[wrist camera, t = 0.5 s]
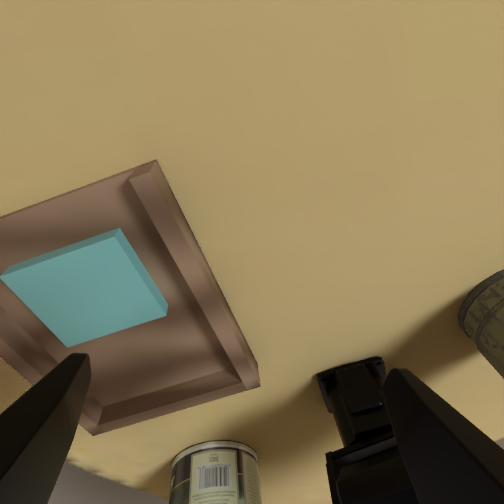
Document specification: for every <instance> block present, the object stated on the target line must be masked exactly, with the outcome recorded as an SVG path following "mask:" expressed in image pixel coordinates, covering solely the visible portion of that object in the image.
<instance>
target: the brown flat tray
mask: <svg viewBox="0 0 504 504" xmlns="http://www.w3.org/2000/svg"><path fill="white" fill-rule="evenodd" d="M117 228H120V229H121V231H122V232H123V234H124V236H125V237H126V239H127V240H128V242H129V243H130V245H131V247H132V248H133V250H134V251H135V253H136V254H137V256H138V258H139V259H140V261H141V262H142V264H143V265H144V267H145V269H146V270H147V272H148V273H149V275H150V277H151V278H152V280H153V281H154V283H155V284H156V286H157V288H158V289H159V291H160V292H161V294H162V295H163V297H164V299H165V300H166V302H167V303H168V309H167V315H166V316H164V317H161V318H157V319H154V320H151V321H148V322H145V323H142V324H139V325H136V326H133V327H130V328H127V329H123V330H120V331H117V332H114V333H111V334H108V335H105V336H102V337H99V338H96V339H92V340H89V341H86V342H83V343H80V344H77V345H74V346H71V347H68V348H67V347H66V346H65V345H64V344H63V343H62V342H61V341H60V340H59V339H58V338H57V337H56V336H55V335H54V333H53V332H52V331H51V330H50V329H49V328H48V327H47V326H46V325H45V324H44V323H43V322H42V321H41V320H40V319H39V318H38V317H37V316H36V315H35V314H34V313H33V312H32V311H31V310H30V309H29V308H28V307H27V306H26V305H25V304H24V302H23V301H22V300H21V299H20V298H19V297H18V296H17V295H16V294H15V293H14V292H13V291H12V290H11V289H10V288H9V287H8V286H7V285H6V284H5V283H4V282H3V281H2V280H1V279H0V357H1V358H3V359H4V360H5V361H6V362H7V363H8V364H10V365H11V366H12V367H13V368H14V369H15V370H17V371H18V372H19V373H20V374H21V375H22V376H24V377H25V378H26V379H27V380H28V381H29V382H31V383H32V384H33V385H35V384H36V383H37V382H38V381H39V380H41V379H42V378H43V377H44V376H45V375H46V374H48V373H49V372H50V371H51V370H52V369H53V368H54V367H56V366H57V365H58V364H59V363H60V362H61V361H63V360H64V359H65V358H66V357H67V356H68V355H70V354H71V353H74V352H78V353H88V354H89V357H90V365H91V381H90V385H89V388H88V391H87V395H86V398H85V402H84V405H83V409H82V412H81V415H80V419H79V422H78V424H80V425H81V426H82V427H83V428H84V429H85V430H87V431H88V432H89V433H90V434H91V435H92V436H94V435H98V434H101V433H104V432H108V431H111V430H115V429H118V428H121V427H125V426H128V425H132V424H135V423H138V422H142V421H145V420H148V419H152V418H155V417H159V416H162V415H165V414H169V413H172V412H176V411H179V410H182V409H186V408H189V407H193V406H196V405H199V404H203V403H206V402H209V401H213V400H216V399H220V398H223V397H226V396H230V395H233V394H237V393H240V392H243V391H247V390H250V389H254V388H257V387H260V378H259V371H258V364H257V362H256V360H255V358H254V356H253V354H252V352H251V350H250V348H249V346H248V344H247V342H246V339H245V337H244V335H243V333H242V331H241V329H240V327H239V325H238V323H237V321H236V319H235V317H234V315H233V313H232V311H231V309H230V307H229V305H228V303H227V301H226V299H225V297H224V295H223V293H222V291H221V289H220V287H219V285H218V283H217V281H216V279H215V277H214V275H213V273H212V271H211V269H210V267H209V265H208V263H207V261H206V259H205V257H204V255H203V253H202V251H201V249H200V247H199V245H198V243H197V240H196V238H195V236H194V234H193V232H192V230H191V228H190V226H189V224H188V222H187V220H186V218H185V216H184V214H183V212H182V210H181V208H180V206H179V204H178V202H177V200H176V198H175V196H174V194H173V192H172V190H171V188H170V186H169V184H168V182H167V180H166V178H165V176H164V174H163V172H162V170H161V168H160V166H159V164H158V162H157V160H154V161H151V162H148V163H146V164H143V165H140V166H137V167H135V168H132V169H129V170H127V171H124V172H121V173H118V174H116V175H113V176H110V177H108V178H105V179H102V180H99V181H97V182H94V183H91V184H89V185H86V186H83V187H80V188H78V189H75V190H72V191H70V192H67V193H64V194H61V195H59V196H56V197H53V198H51V199H48V200H45V201H42V202H40V203H37V204H34V205H32V206H29V207H26V208H23V209H21V210H18V211H15V212H13V213H10V214H7V215H4V216H2V217H0V275H1V274H2V273H3V272H4V271H5V270H6V269H7V268H8V267H9V266H12V265H15V264H17V263H20V262H23V261H26V260H29V259H32V258H34V257H37V256H40V255H43V254H46V253H49V252H51V251H54V250H57V249H60V248H63V247H66V246H68V245H71V244H74V243H77V242H80V241H83V240H85V239H88V238H91V237H94V236H97V235H100V234H102V233H105V232H108V231H111V230H114V229H117Z"/></svg>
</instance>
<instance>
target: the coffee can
mask: <svg viewBox="0 0 504 504" xmlns="http://www.w3.org/2000/svg"><path fill="white" fill-rule="evenodd" d="M257 463H258V457H257V455H256V453H255V452H254V450H253V449H251V448H249V447H248V446H246V445H244V444H241V443H238V442H233V441H211V442H205V443H201V444H198V445H194V446H191V447H190V448H187V449H185V450H184V451H182V452H181V453H180V454H178V455H177V457H176V458H175V459H174V461H173V463H172V479H171V490H170V500H169V504H262V500H261V491H260V482H259V473H258V464H257Z"/></svg>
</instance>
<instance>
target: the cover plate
mask: <svg viewBox="0 0 504 504" xmlns="http://www.w3.org/2000/svg"><path fill="white" fill-rule="evenodd" d="M0 279H1V280H2V281H3V282H4V283H5V284H6V285H7V286H8V287H9V288H10V289H11V290H12V291H13V292H14V293H15V294H16V295H17V296H18V297H19V298H20V299H21V300H22V301H23V302H24V304H25V305H26V306H27V307H28V308H29V309H30V310H31V311H32V312H33V313H34V314H35V315H36V316H37V317H38V318H39V319H40V320H41V321H42V322H43V323H44V324H45V325H46V326H47V327H48V328H49V329H50V330H51V331H52V332H53V333H54V335H55V336H56V337H57V338H58V339H59V340H60V341H61V342H62V343H63V344H64V345H65V346H66V347H67V348H68V347H71V346H74V345H77V344H80V343H83V342H86V341H89V340H92V339H96V338H99V337H102V336H105V335H108V334H111V333H114V332H117V331H120V330H123V329H127V328H130V327H133V326H136V325H139V324H142V323H145V322H148V321H151V320H154V319H157V318H161V317H164V316H166V315H167V309H168V303H167V302H166V300H165V299H164V297H163V295H162V294H161V292H160V291H159V289H158V288H157V286H156V284H155V283H154V281H153V280H152V278H151V277H150V275H149V273H148V272H147V270H146V269H145V267H144V265H143V264H142V262H141V261H140V259H139V258H138V256H137V254H136V253H135V251H134V250H133V248H132V247H131V245H130V243H129V242H128V240H127V239H126V237H125V236H124V234H123V232H122V231H121V229H120V228H117V229H114V230H111V231H108V232H105V233H102V234H100V235H97V236H94V237H91V238H88V239H85V240H83V241H80V242H77V243H74V244H71V245H68V246H66V247H63V248H60V249H57V250H54V251H51V252H49V253H46V254H43V255H40V256H37V257H34V258H32V259H29V260H26V261H23V262H20V263H17V264H15V265H12V266H9V267H8V268H7V269H6V270H5V271H4V272H3V273H2V274H1V275H0Z"/></svg>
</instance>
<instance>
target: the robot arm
mask: <svg viewBox="0 0 504 504" xmlns="http://www.w3.org/2000/svg"><path fill="white" fill-rule="evenodd" d="M317 380H318V383H319V386H320V389H321V392H322V395H323V398H324V400H325V403H326V406H327V409H328V412H329V413H333V415H334V418H335V421H336V424H337V427H338V430H339V433H340V436H341V439H342V443H343V446H344V448H342V449H339V450H336V451H334V452H331V451H330V452H328V453H325V455H326V461H327V463H326V468H327V474H328V480H329V486H330V492H331V498H332V504H504V450H503V449H502V448H501V447H500V446H499V445H497V444H496V443H495V442H494V441H493V440H491V439H490V438H489V437H488V436H487V435H486V434H484V433H483V432H482V431H481V430H480V429H478V428H477V427H476V426H475V425H474V424H472V423H471V422H470V421H469V420H468V419H466V418H465V417H464V416H463V415H462V414H460V413H459V412H458V411H457V410H456V409H454V408H453V407H452V406H451V405H450V404H448V403H447V402H446V401H445V400H444V399H442V398H441V397H440V396H439V395H438V394H436V393H435V392H434V391H433V390H432V389H430V388H429V387H428V386H427V385H426V384H425V383H423V382H422V381H421V380H420V379H419V378H417V377H416V376H415V375H414V374H413V373H411V372H410V371H409V370H408V369H406V368H401V367H393V368H392V369H391V370H390V371H389V373H388V375H387V377H386V374H385V367H384V362H383V360H382V358H381V357H375V358H371V359H368V360H365V361H361V362H358V363H354V364H351V365H348V366H344V367H341V368H337V369H334V370H331V371H327V372H324V373H321V374H319V375H317ZM90 381H91V365H90V357H89V354H88V353H78V352H74V353H71V354H70V355H68V356H67V357H66V358H65V359H64V360H63V361H61V362H60V363H59V364H58V365H57V366H56V367H54V368H53V369H52V370H51V371H50V372H49V373H48V374H46V375H45V376H44V377H43V378H42V379H41V380H39V381H38V382H37V383H36V384H35V385H34V386H32V387H31V388H30V389H29V390H28V391H27V392H25V393H24V394H23V395H22V396H21V397H20V398H19V399H17V400H16V401H15V402H14V403H13V404H12V405H10V406H9V407H8V408H7V409H6V410H5V411H3V412H2V413H1V414H0V504H47V503H48V501H49V498H50V496H51V493H52V491H53V488H54V486H55V484H56V481H57V479H58V476H59V474H60V471H61V469H62V467H63V464H64V462H65V459H66V457H67V454H68V452H69V449H70V447H71V444H72V442H73V439H74V436H75V432H76V429H77V426H78V422H79V419H80V415H81V412H82V409H83V405H84V402H85V398H86V395H87V391H88V388H89V385H90Z"/></svg>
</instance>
